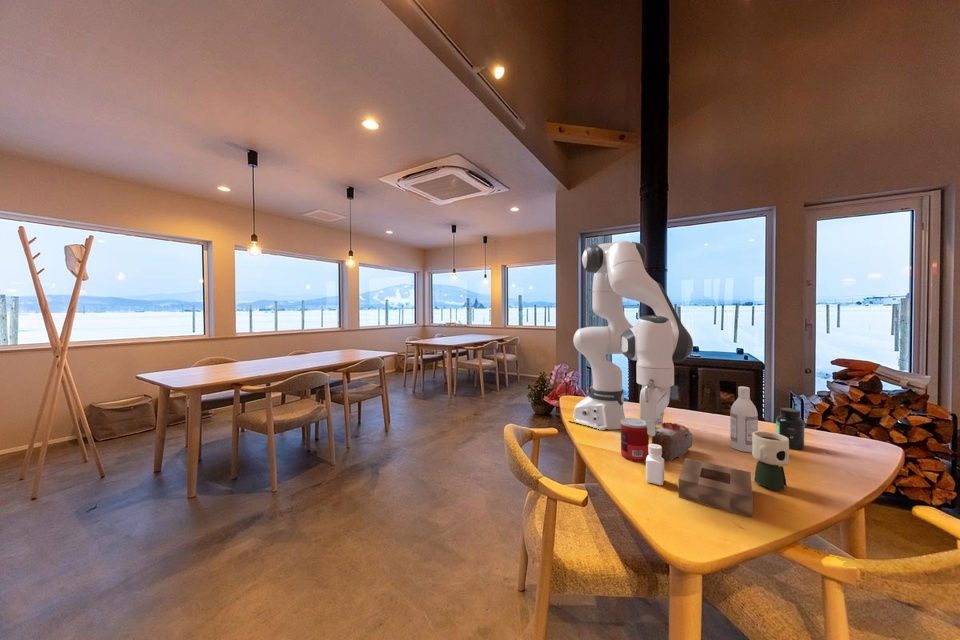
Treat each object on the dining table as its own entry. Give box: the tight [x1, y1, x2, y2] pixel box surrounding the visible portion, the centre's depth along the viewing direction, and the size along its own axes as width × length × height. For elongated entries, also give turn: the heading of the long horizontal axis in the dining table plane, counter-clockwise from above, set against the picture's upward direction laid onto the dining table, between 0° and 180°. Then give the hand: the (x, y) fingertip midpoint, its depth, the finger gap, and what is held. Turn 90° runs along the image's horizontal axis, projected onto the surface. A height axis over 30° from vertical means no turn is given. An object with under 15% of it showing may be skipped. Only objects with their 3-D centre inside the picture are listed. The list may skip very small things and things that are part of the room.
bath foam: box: [729, 385, 759, 454], centre depth 109 cm, size 7×7×20 cm
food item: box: [651, 421, 693, 463], centre depth 106 cm, size 14×8×10 cm, turn 128°
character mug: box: [751, 430, 790, 491], centre depth 86 cm, size 11×7×13 cm, turn 119°
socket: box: [678, 457, 754, 519], centre depth 83 cm, size 14×14×4 cm
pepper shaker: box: [645, 443, 665, 486], centre depth 89 cm, size 4×4×10 cm
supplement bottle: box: [775, 407, 805, 451], centre depth 110 cm, size 7×7×12 cm
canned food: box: [620, 417, 650, 463], centre depth 105 cm, size 8×8×11 cm
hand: (655, 429), depth 89 cm, fingers open, 8 cm apart
